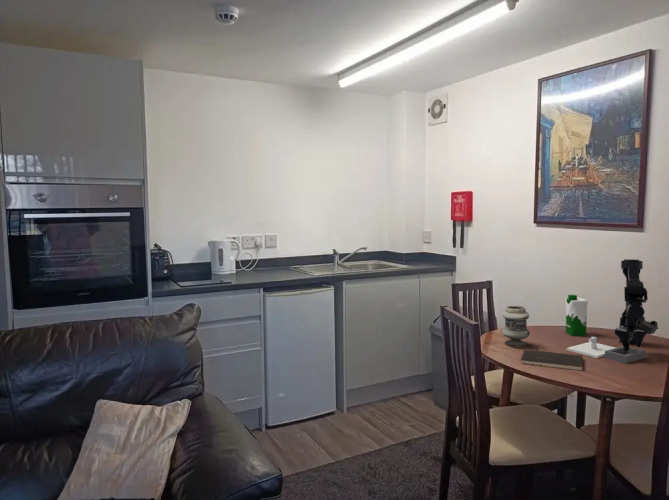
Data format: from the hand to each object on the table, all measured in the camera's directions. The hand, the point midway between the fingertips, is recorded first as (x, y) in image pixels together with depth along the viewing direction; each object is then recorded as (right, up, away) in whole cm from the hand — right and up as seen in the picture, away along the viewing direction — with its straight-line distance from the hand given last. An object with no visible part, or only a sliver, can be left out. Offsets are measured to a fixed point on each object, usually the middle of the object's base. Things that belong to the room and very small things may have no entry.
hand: (632, 348), depth 203 cm
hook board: (-13, -2, +8) cm, 15 cm away
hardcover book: (-38, -5, -5) cm, 38 cm away
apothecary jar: (-43, -2, +21) cm, 48 cm away
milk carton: (-6, 0, +35) cm, 36 cm away
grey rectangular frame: (-5, -3, -3) cm, 7 cm away
